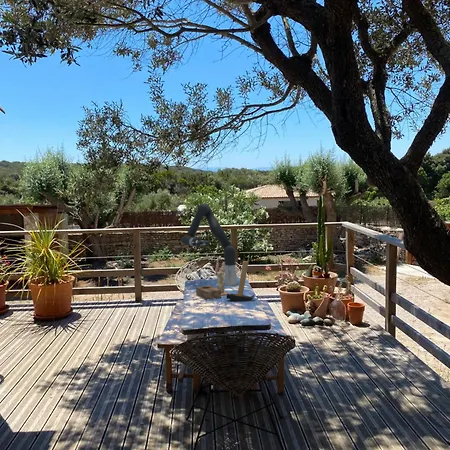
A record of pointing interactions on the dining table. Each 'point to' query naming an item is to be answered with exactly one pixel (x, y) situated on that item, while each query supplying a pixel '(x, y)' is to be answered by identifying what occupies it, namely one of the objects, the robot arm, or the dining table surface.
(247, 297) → the hammer
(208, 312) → the dining table surface
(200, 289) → the walnut toolbox
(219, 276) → the maple key
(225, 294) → the terracotta tile
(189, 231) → the robot arm
